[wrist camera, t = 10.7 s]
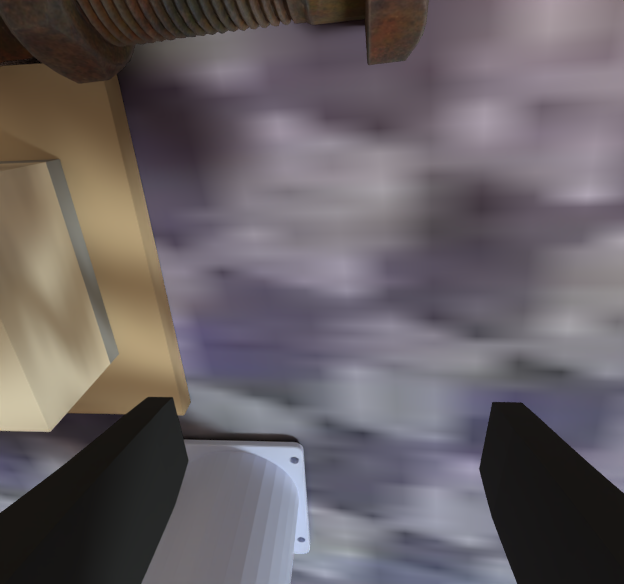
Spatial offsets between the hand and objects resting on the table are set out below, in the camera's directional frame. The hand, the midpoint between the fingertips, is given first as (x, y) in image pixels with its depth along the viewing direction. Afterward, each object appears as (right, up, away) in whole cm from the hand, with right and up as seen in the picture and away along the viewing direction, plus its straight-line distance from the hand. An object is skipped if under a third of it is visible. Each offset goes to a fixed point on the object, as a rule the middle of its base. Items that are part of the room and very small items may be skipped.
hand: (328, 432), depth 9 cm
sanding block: (-12, +4, +8) cm, 15 cm away
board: (-12, +4, +9) cm, 16 cm away
